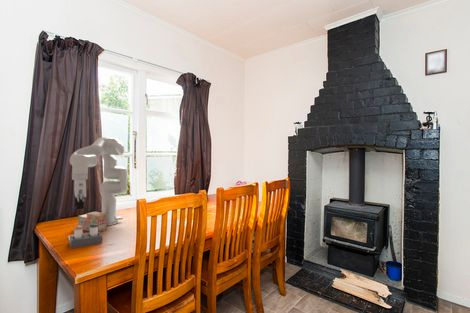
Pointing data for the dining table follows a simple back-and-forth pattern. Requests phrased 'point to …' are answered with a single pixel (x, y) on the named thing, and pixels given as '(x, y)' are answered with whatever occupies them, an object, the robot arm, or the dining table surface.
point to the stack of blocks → (93, 220)
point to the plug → (78, 232)
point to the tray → (73, 235)
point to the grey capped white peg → (93, 229)
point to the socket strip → (85, 240)
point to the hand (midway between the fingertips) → (79, 207)
